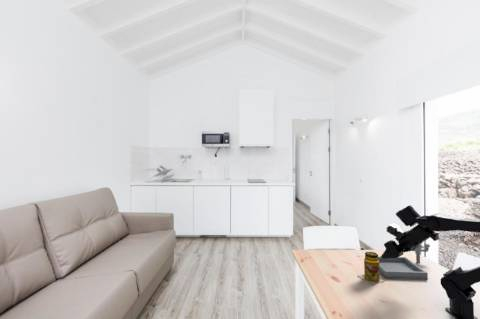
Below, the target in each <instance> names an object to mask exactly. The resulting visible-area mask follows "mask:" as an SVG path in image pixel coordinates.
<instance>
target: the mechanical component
mask: <svg viewBox="0 0 480 319" xmlns="http://www.w3.org/2000/svg"><path fill="white" fill-rule="evenodd" d="M429 250H430V244H429V243H424V245H422V243H421V244H420V245H419V247H418V248H417V249H415V250H412V251H411V252H414V253H415V255H416V256H415V258H416V263H417V264H421V255H422V253H421V252H423V253H427V252H429Z"/></svg>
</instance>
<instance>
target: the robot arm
mask: <svg viewBox="0 0 480 319" xmlns="http://www.w3.org/2000/svg"><path fill="white" fill-rule="evenodd" d="M395 216H396V217H397V218H398V219H399V220H400V221H401V222H402V223H403V225H405V227H410V229H409V230H405V228H403V227H401V226H400V225H398V224H396V223H393V222H392V223H390V224H389V225H388V226H387V227H386V228H385V229H386V232H387V233H389V234H390V235H392V236H393V237H394V238H395V240H393V239H392V240H389V241H386V242H385V243H384V244H383V246H384V248H385V250H384V252H383V253H381V256H380V257H382V259H387V258H398V257H402V256H403V255H404V253H408V252H413V251H412V250H415V249H417V248H418V247H419V245H420V244H421V245H422V244H423V243H424V242H425V241H427V240H429V239H431V240H432V241H434V242H436V241H438V240H440V232H451V231H462V232H470V233H480V219H469V218H459V217H455V216H452V215H448V214H443V213H434V214H431V215H422V216H421V214H419V213H418V212H417V211H416V210H415V208H414V207H413V206H412V205H407V206H406V207H403V208H402V209H401V210H398V211H397V212H396V213H395ZM396 241H397V242H396ZM442 275H443V276H442V277H441V278H440V285H441V287H442V289H443V290H444V291H445V292H446V293H445V294H446V296H447V298H448V301H449V307H445V310H446V311H447V312H448V313H449V314H450V315H452V316H453V317H454V318H455V319H479V318H478V317H477V316H475V314H474V313H475V312H474V310H475V308H474V306H475V305H474V303H475V302H473V299H472V298H473V297H475V296H476V294H477V291H476V290H475V289H474V288H473V287H472V286H473V285H474V284H477V283H480V266H477V267H473V268H472V269H471V268H470V269H465V270H463V269H462V267H461V266H459V267H456V268H455V269H449V270H448V271H446V272H444V273H443V274H442Z"/></svg>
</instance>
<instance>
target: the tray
mask: <svg viewBox="0 0 480 319" xmlns="http://www.w3.org/2000/svg"><path fill="white" fill-rule="evenodd" d="M378 260H379V273H380V275H382V276H383V277H384V278H385V279H398V280H399V279H400V280H401V279H404V280H428V278H429V277H428V276H429V275H428V272H427V271H426V270H424V269H423V268H422V267H420V266H418V265H417V264H416V263H414V262H413V261H411V260H410V259H409V258H408V257H406V256H400V257H398V258H387V259H382V257H381V256H378Z"/></svg>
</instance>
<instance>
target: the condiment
mask: <svg viewBox="0 0 480 319" xmlns="http://www.w3.org/2000/svg"><path fill="white" fill-rule="evenodd" d="M378 257H379V254H378V253H377V252H375V251H374V252H373V251H366V252H365V253H364V259H363V261H364V264H363V266H364V267H363V268H364V270H363V271H364V274H360V275H358V277H359V278H361V279H362V280H363V281H365V282H367V283H369V284H370V285H375V284H380V283H383V282H385V280H383V279H381V277H380V276H381V273H380V272H379V260H378Z"/></svg>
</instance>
